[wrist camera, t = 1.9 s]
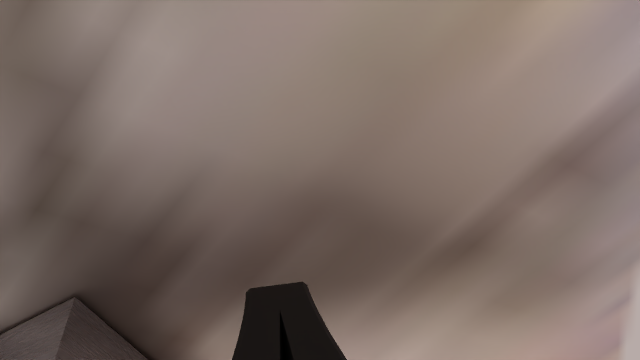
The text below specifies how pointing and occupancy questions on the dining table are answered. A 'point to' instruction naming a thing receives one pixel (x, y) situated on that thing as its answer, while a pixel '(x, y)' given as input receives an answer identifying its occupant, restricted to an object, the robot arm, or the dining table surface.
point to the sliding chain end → (66, 337)
